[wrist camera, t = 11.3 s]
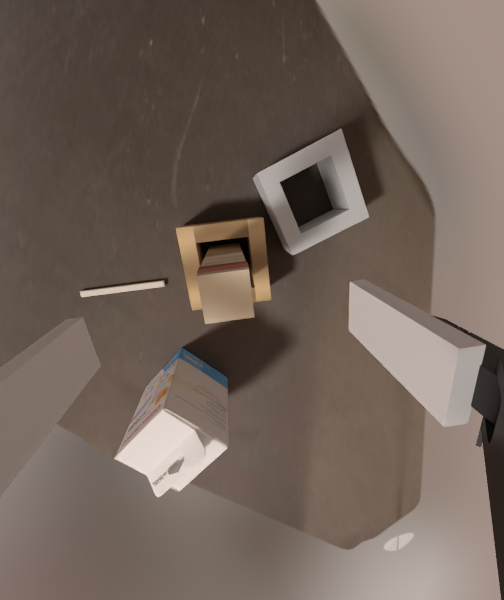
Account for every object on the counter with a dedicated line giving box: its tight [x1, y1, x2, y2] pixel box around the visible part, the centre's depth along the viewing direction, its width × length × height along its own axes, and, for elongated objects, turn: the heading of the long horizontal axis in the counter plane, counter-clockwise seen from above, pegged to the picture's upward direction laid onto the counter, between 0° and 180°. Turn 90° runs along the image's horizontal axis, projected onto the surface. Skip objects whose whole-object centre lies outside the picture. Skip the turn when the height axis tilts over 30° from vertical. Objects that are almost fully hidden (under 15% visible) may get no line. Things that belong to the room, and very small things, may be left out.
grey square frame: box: [253, 129, 369, 255], centre depth 29 cm, size 9×9×4 cm
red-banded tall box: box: [196, 243, 254, 324], centre depth 26 cm, size 4×4×15 cm
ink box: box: [114, 348, 228, 497], centre depth 32 cm, size 9×8×13 cm
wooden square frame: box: [176, 217, 271, 310], centre depth 31 cm, size 9×9×4 cm
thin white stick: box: [80, 280, 165, 297], centre depth 32 cm, size 1×10×1 cm, turn 97°
